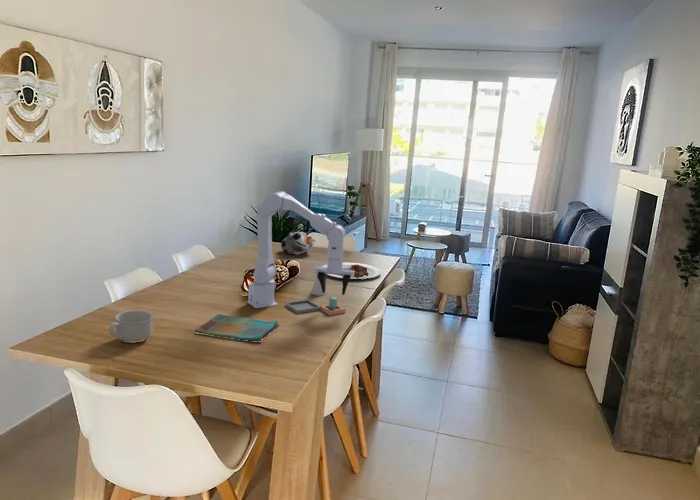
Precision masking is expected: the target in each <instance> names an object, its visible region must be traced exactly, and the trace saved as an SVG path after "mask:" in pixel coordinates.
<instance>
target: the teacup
mask: <svg viewBox="0 0 700 500" xmlns="http://www.w3.org/2000/svg"><path fill="white" fill-rule="evenodd" d="M114 317H115V318H114V319H115V322H112V323H111V324H110V325H109V327H108V333H109V334H110V335H111V336H112V337H114V338H117V340H121V341H122V340H124V341H140V340H143V339H146V338H147V339H148V338H149V337H151V335H152V331H153V318H154V316H153V314H152V313H151V312H148V311H145V310H127V311H122V312H120V313H118V314H116V315H115V316H114ZM114 329H115V332H114ZM147 339H146V340H147Z"/></svg>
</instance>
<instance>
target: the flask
mask: <svg viewBox="0 0 700 500" xmlns="http://www.w3.org/2000/svg"><path fill="white" fill-rule="evenodd" d="M317 275H318V273H316V276H315V280H314V283H313V285H312V288H311V290H310V295H313V296H316V297H321V296H326V295H327V294H328V293H327V289H326V290H325V292H324V293H322V288H321V284H320V281H319V279H318V277H317Z"/></svg>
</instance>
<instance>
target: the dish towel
mask: <svg viewBox="0 0 700 500" xmlns="http://www.w3.org/2000/svg"><path fill="white" fill-rule="evenodd" d="M279 325H280V324H279V323H278V320H274V321H273V320H272V321H267V320H266V321H265V320H259V319H256V318H255V319H254V318H249V317H240V316H235V315H234V316H233V315H226V314H216V315H215V316H213V317H212V318H210V319H209V320H208V321H206V322H205V323H204V324H202V325H201V326H199V327H198V328H196V329H194V332H199V333H204V334H209V335H214V336H220V337H227V338H234V339H240V340H248V341H257V342H258V341H261V339H262V338H264V337H266V336H267V335H268V334H269V333H270V332H272V331H273V330H274V329H275V330H277V328H278V327H279ZM275 330H274V331H275ZM274 331H273V332H274ZM273 332H272V333H273ZM267 337H268V336H267ZM267 337H266V338H267Z"/></svg>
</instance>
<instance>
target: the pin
mask: <svg viewBox="0 0 700 500" xmlns="http://www.w3.org/2000/svg"><path fill="white" fill-rule="evenodd" d="M337 304H338V298H337V297H334V296H333V297H329V301H328V305H329V309H330V310H334V309H337Z"/></svg>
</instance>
